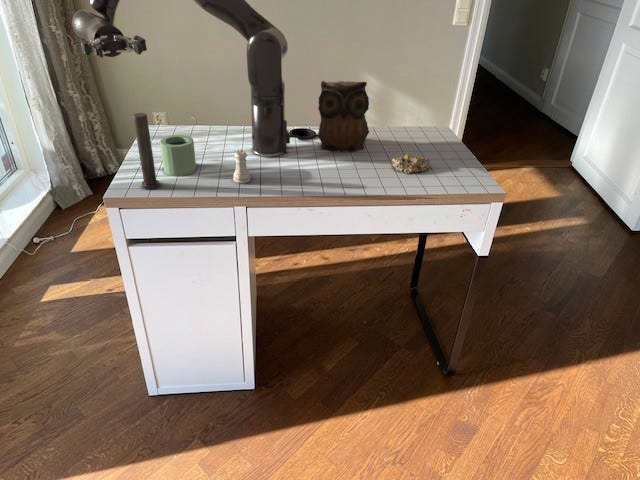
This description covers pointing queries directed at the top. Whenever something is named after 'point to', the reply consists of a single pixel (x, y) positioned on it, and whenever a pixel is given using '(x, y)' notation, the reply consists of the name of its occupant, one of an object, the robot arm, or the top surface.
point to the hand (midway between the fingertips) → (120, 51)
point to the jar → (178, 155)
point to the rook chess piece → (241, 168)
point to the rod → (145, 151)
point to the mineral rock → (410, 164)
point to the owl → (343, 115)
